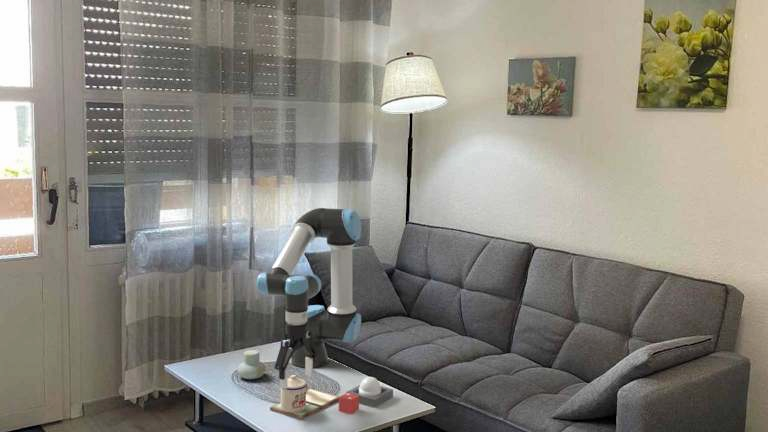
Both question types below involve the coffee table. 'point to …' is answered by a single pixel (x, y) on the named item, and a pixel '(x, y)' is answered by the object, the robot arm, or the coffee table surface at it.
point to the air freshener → (251, 366)
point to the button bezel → (370, 401)
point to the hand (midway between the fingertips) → (296, 381)
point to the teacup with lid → (294, 395)
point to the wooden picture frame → (310, 404)
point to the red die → (349, 403)
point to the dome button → (370, 387)
